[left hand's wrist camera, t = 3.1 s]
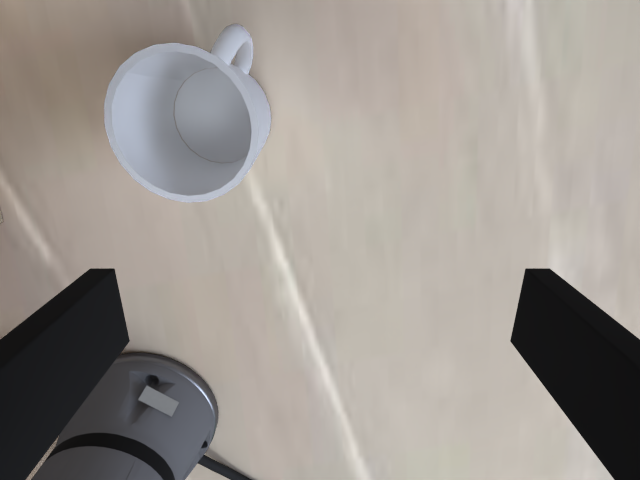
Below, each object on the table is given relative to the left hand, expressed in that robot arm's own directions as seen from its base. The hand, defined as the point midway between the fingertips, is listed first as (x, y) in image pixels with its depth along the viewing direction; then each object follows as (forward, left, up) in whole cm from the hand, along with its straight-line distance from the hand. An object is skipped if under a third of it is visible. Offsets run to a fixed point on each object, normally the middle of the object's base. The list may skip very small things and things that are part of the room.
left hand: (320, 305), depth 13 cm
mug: (-5, -7, -23) cm, 25 cm away
